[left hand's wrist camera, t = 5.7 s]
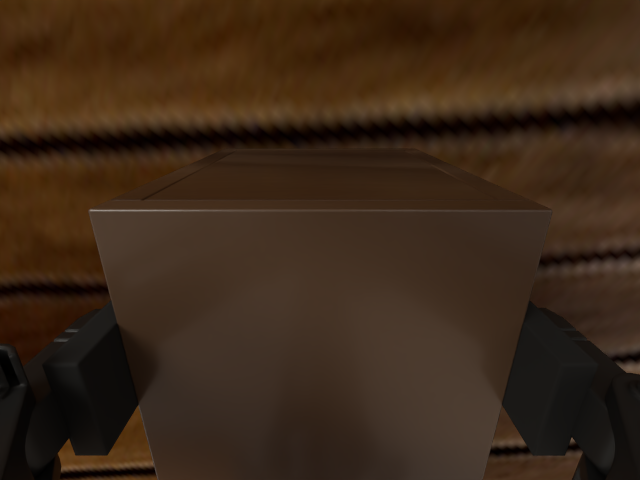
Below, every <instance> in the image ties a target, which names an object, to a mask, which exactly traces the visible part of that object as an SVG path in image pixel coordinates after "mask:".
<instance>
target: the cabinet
mask: <svg viewBox="0 0 640 480" xmlns="http://www.w3.org/2000/svg"><path fill="white" fill-rule="evenodd" d="M551 215H552V210H551V209H549V208H547V207H545V206H542V205H540V204H538V203H536V202H533V201H530V200H528V199H526V198H524V197H522V196H520V195H517V194H515V193H513V192H511V191H508V190H506V189H504V188H502V187H499V186H497V185H495V184H493V183H490V182H488V181H486V180H484V179H481V178H479V177H477V176H475V175H473V174H470V173H468V172H466V171H464V170H461V169H459V168H457V167H455V166H452V165H450V164H448V163H446V162H443V161H441V160H439V159H437V158H434V157H432V156H430V155H428V154H426V153H423V152H421V151H419V150H417V149H224V150H221V151H219V152H217V153H215V154H212V155H210V156H208V157H206V158H203V159H201V160H199V161H197V162H194V163H192V164H190V165H188V166H185V167H183V168H181V169H179V170H177V171H174V172H172V173H170V174H168V175H165V176H163V177H161V178H159V179H156V180H154V181H152V182H150V183H147V184H145V185H143V186H141V187H138V188H136V189H134V190H132V191H129V192H127V193H125V194H123V195H121V196H118V197H116V198H114V199H112V200H109V201H107V202H105V203H102V204H100V205H98V206H96V207H93V208H91V209H89V216H90V220H91V223H92V227H93V231H94V235H95V239H96V243H97V247H98V251H99V254H100V258H101V262H102V266H103V270H104V274H105V278H106V281H107V285H108V289H109V293H110V297H111V301H112V305H113V309H114V312H115V316H116V320H117V324H118V328H119V332H120V336H121V339H122V343H123V347H124V351H125V355H126V359H127V363H128V367H129V370H130V374H131V378H132V382H133V386H134V390H135V394H136V397H137V401H138V405H139V409H140V413H141V417H142V421H143V425H144V428H145V432H146V436H147V440H148V444H149V448H150V452H151V455H152V459H153V463H154V467H155V471H156V475H157V479H158V480H483V476H484V472H485V468H486V465H487V461H488V457H489V453H490V449H491V445H492V442H493V438H494V434H495V430H496V426H497V422H498V418H499V415H500V411H501V407H502V403H503V399H504V395H505V392H506V388H507V384H508V380H509V376H510V372H511V369H512V365H513V361H514V357H515V353H516V349H517V345H518V342H519V338H520V334H521V330H522V326H523V322H524V319H525V315H526V311H527V307H528V303H529V299H530V296H531V292H532V288H533V284H534V280H535V276H536V273H537V269H538V265H539V261H540V257H541V253H542V249H543V246H544V242H545V238H546V234H547V230H548V226H549V223H550V219H551Z"/></svg>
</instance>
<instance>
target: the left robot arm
mask: <svg viewBox="0 0 640 480" xmlns="http://www.w3.org/2000/svg"><path fill="white" fill-rule="evenodd" d="M502 405H503V407H504V409H505V410H506V412H507V413H508V415H509V417H510V418H511V420H512V422H513V423H514V425H515V427H516V428H517V430H518V432H519V433H520V435H521V436H522V438H523V440H524V441H525V443H526V445H527V446H528V448H529V450H530V451H531V453H532V454H533V455H558V456H565V454H566V451H567V448H568V446H569V443H570V440H571V438H573V439H574V440H575V442H576V443H577V444H578V445H579V447H580V448H581V449H582V451H583V453H582V456H581V458H580V461H579V463H578V466H577V468H576V471H575V473H574V476H573V478H572V480H640V375H639V374H633V373H626V372H625V371H624V370H623V369H621V368H620V367H619V366H618V365H617V364H616V363H615V362H613V361H612V360H611V359H610V358H609V357H608V356H606V355H605V354H604V353H603V352H602V351H601V350H600V349H598V348H597V347H596V346H595V345H594V344H593V343H591V342H590V341H587V338H586V337H585V336H583V335H582V334H581V333H580V332H579V331H576V329H575V328H574V327H573V326H572V325H571V324H570V323H568V322H567V321H566V320H565V319H564V318H563V317H561V316H559V315H557V314H555V313H553V312H552V311H550V310H548V309H546V308H537V307H536V306H535V305H534V304H533V303H532V302H531V301H529V303H528V307H527V311H526V315H525V319H524V322H523V326H522V330H521V334H520V338H519V342H518V345H517V349H516V353H515V357H514V361H513V365H512V369H511V372H510V376H509V380H508V384H507V388H506V392H505V395H504V399H503V403H502ZM137 406H138V401H137V397H136V394H135V390H134V386H133V382H132V378H131V374H130V370H129V367H128V363H127V359H126V355H125V351H124V347H123V343H122V339H121V336H120V332H119V328H118V324H117V320H116V316H115V312H114V309H113V305H112V301H110V302H109V303H108V304H107V305H105V306H104V307H103V308H102V309H95V310H93V311H91V312H89V313H88V314H86V315H84V316H82V317H80V318H78V319H77V320H76V321H75V322H74V323H73V324H71V325H70V326H69V327H68V328H67V329H66V330H65V332H62V333H61V334H60V335H59V336H58V337H57V338H55V339H54V342H51V343H50V344H49V345H47V346H46V347H45V348H44V349H43V350H42V351H41V352H39V353H38V354H37V355H36V356H35V357H34V358H33V359H31V360H30V361H29V362H28V363H27V364H26V365H25V366H22V363H21V361H20V358H19V356H18V353H17V351H16V348H15V347H14V346H12V345H10V344H0V480H60V472H61V463H60V458H59V456H58V452H59V451H60V449H61V448H62V447H63V445H64V444H65V443H66V441H67V440H68V439H70V442H71V444H72V447H73V450H74V452H75V455H108V453H109V452H110V450H111V448H112V447H113V445H114V444H115V442H116V440H117V439H118V437H119V435H120V434H121V432H122V430H123V429H124V427H125V426H126V424H127V422H128V421H129V419H130V417H131V416H132V414H133V412H134V411H135V409H136V408H137Z"/></svg>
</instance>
